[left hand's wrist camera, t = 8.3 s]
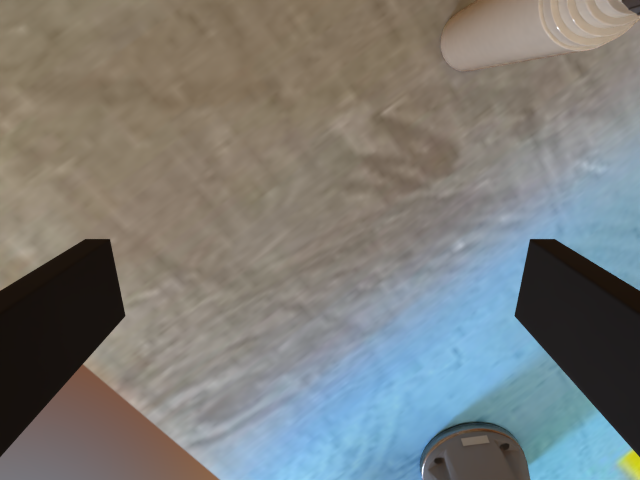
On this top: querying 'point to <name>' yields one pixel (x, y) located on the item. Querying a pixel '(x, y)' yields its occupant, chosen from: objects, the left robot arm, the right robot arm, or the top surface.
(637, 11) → the cap
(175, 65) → the top surface
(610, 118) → the top surface
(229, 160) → the top surface
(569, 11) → the bottle
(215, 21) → the top surface
